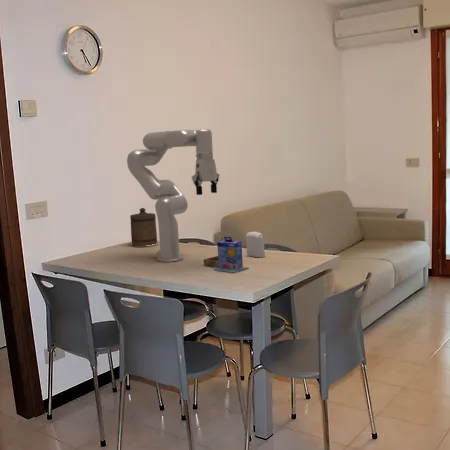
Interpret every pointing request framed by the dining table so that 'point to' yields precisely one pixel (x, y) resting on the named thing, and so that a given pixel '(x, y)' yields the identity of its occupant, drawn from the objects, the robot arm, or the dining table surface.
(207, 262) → the walnut frame
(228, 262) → the ink cartridge box
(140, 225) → the wooden container
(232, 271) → the teal mat
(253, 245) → the photo printer
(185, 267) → the dining table surface
